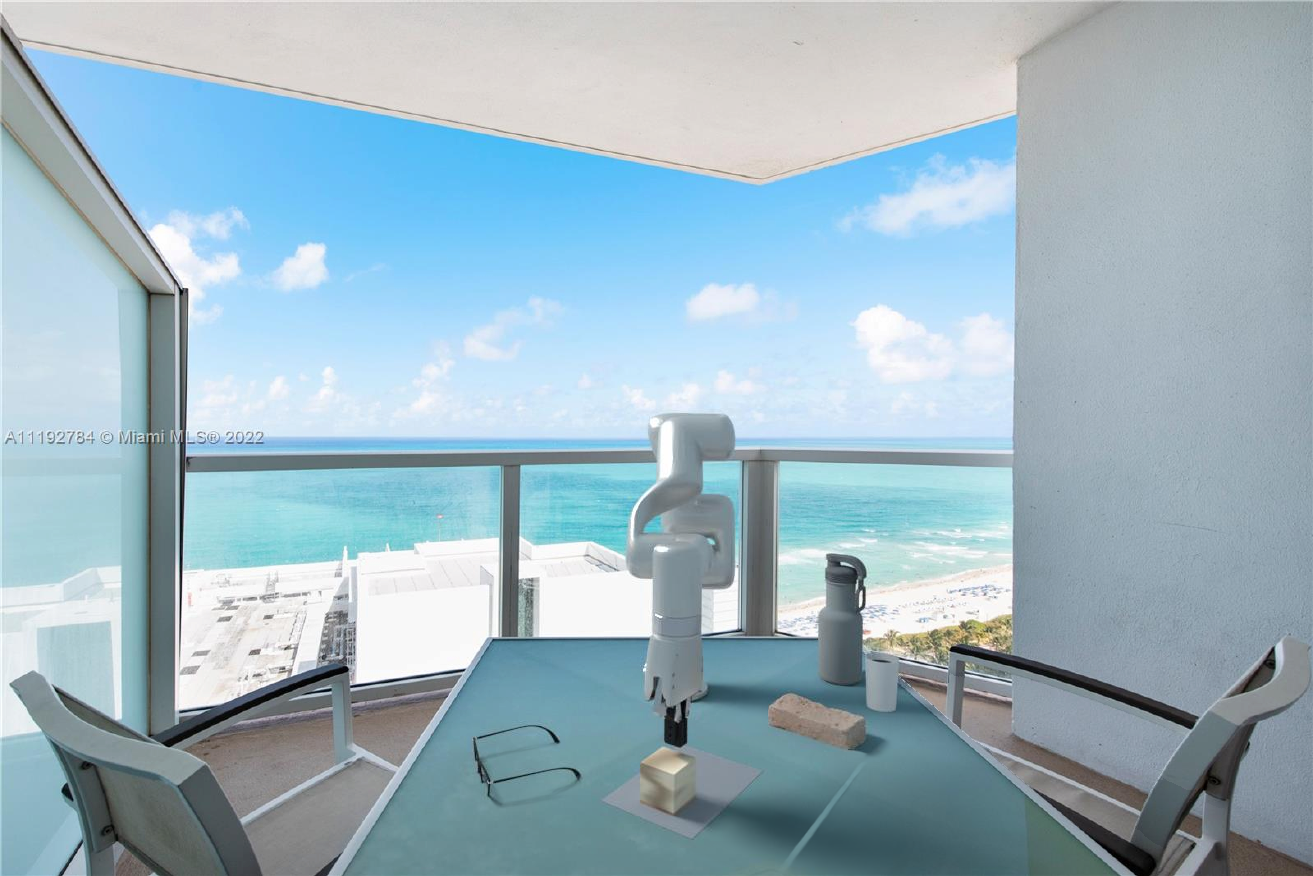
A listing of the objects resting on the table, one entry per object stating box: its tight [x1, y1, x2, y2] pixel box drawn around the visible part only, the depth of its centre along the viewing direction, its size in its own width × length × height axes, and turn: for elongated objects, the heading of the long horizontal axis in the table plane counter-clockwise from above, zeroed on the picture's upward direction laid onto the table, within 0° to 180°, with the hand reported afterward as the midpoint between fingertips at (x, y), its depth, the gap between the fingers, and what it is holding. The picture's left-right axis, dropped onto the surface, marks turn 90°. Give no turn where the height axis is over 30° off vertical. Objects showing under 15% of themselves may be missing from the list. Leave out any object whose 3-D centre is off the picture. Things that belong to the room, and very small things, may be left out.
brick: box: [767, 693, 867, 751], centre depth 122 cm, size 16×8×5 cm, turn 50°
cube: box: [639, 746, 696, 816], centre depth 98 cm, size 6×6×6 cm
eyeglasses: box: [472, 724, 581, 797], centre depth 108 cm, size 16×16×4 cm
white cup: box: [864, 651, 900, 713], centre depth 134 cm, size 7×7×10 cm
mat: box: [600, 744, 764, 840], centre depth 102 cm, size 16×22×1 cm
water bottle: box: [817, 553, 868, 686], centre depth 149 cm, size 10×10×28 cm
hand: (675, 743), depth 100 cm, fingers closed
